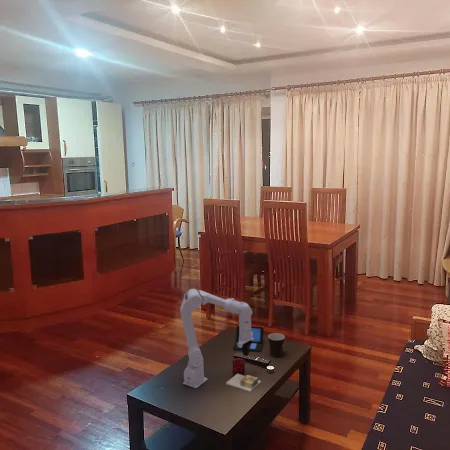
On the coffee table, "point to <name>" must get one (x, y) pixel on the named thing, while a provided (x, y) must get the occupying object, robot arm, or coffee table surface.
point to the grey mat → (236, 383)
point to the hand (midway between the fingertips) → (245, 355)
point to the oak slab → (249, 381)
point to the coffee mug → (276, 344)
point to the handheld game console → (256, 343)
